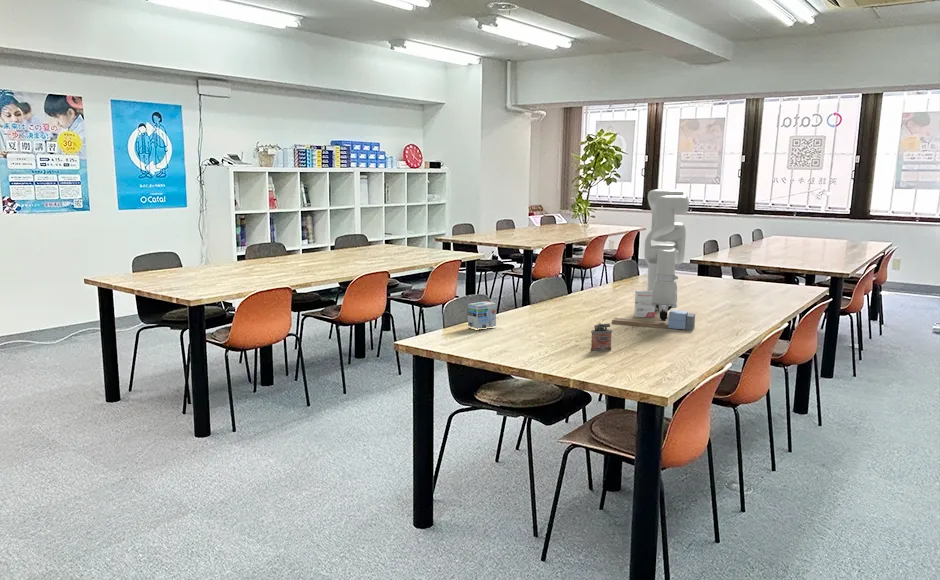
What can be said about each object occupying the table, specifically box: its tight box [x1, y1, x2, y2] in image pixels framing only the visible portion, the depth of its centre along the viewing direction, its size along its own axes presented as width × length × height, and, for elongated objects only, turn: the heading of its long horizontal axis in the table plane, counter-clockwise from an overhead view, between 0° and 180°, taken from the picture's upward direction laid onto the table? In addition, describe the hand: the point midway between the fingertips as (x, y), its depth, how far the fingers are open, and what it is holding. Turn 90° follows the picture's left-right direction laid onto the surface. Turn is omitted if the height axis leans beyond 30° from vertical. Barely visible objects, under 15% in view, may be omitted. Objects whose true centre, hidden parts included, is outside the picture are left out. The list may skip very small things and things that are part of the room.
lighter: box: [590, 323, 613, 352], centre depth 259 cm, size 8×3×10 cm, turn 106°
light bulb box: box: [467, 300, 497, 329], centre depth 297 cm, size 11×7×11 cm, turn 129°
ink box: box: [634, 289, 656, 318], centre depth 325 cm, size 9×5×12 cm, turn 84°
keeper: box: [667, 309, 689, 330], centre depth 300 cm, size 8×7×6 cm
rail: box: [611, 312, 696, 332], centre depth 305 cm, size 8×34×6 cm, turn 67°
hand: (663, 320), depth 303 cm, fingers closed
